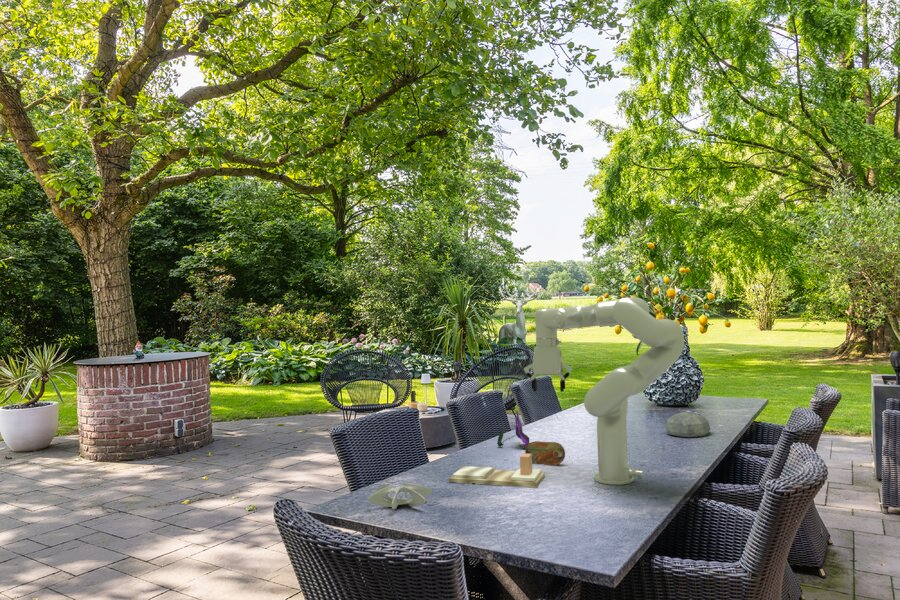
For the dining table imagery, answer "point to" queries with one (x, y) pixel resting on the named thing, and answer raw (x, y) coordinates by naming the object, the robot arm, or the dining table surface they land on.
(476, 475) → the ticket pad
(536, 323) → the robot arm
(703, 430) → the decorative stone
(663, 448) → the dining table surface
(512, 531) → the dining table surface
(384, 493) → the sculpture
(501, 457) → the dining table surface
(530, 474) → the stub
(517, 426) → the flower
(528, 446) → the tin
